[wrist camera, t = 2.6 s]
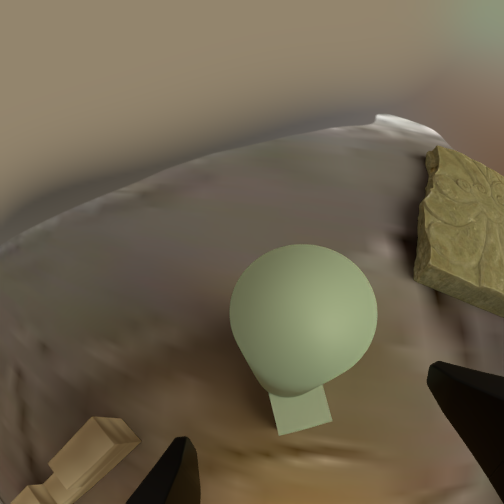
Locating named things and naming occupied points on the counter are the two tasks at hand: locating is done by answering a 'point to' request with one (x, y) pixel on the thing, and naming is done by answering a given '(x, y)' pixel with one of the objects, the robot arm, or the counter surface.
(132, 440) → the birch slotted plate
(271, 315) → the green joystick knob
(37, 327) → the counter surface
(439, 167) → the decorative tile
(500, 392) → the robot arm
